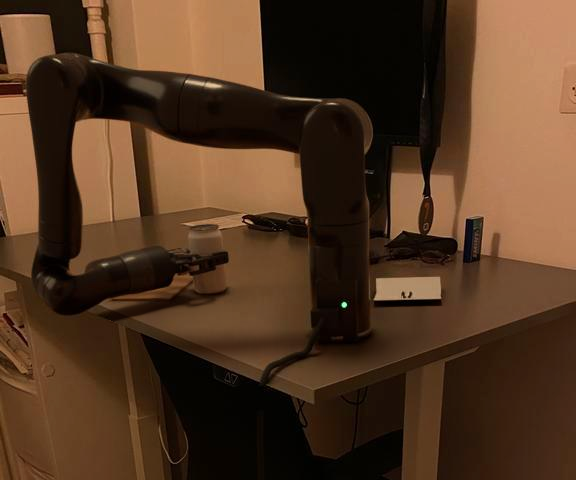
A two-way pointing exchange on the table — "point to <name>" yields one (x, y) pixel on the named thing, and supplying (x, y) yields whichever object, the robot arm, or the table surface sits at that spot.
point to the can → (206, 242)
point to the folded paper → (408, 288)
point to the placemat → (161, 290)
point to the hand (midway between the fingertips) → (216, 254)
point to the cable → (395, 254)
